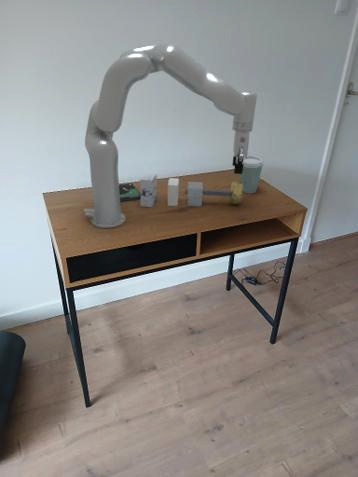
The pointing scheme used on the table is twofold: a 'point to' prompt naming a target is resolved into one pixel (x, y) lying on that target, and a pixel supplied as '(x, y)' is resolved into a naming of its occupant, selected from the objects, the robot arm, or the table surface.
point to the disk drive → (128, 193)
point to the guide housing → (195, 194)
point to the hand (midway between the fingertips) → (237, 169)
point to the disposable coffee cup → (251, 173)
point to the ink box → (148, 189)
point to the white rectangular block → (173, 192)
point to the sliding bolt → (226, 192)
